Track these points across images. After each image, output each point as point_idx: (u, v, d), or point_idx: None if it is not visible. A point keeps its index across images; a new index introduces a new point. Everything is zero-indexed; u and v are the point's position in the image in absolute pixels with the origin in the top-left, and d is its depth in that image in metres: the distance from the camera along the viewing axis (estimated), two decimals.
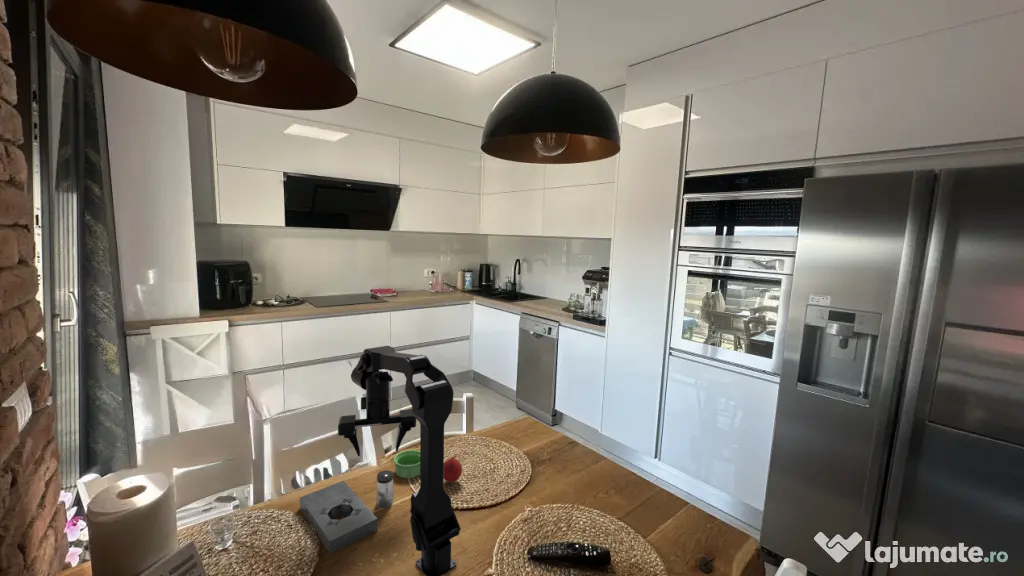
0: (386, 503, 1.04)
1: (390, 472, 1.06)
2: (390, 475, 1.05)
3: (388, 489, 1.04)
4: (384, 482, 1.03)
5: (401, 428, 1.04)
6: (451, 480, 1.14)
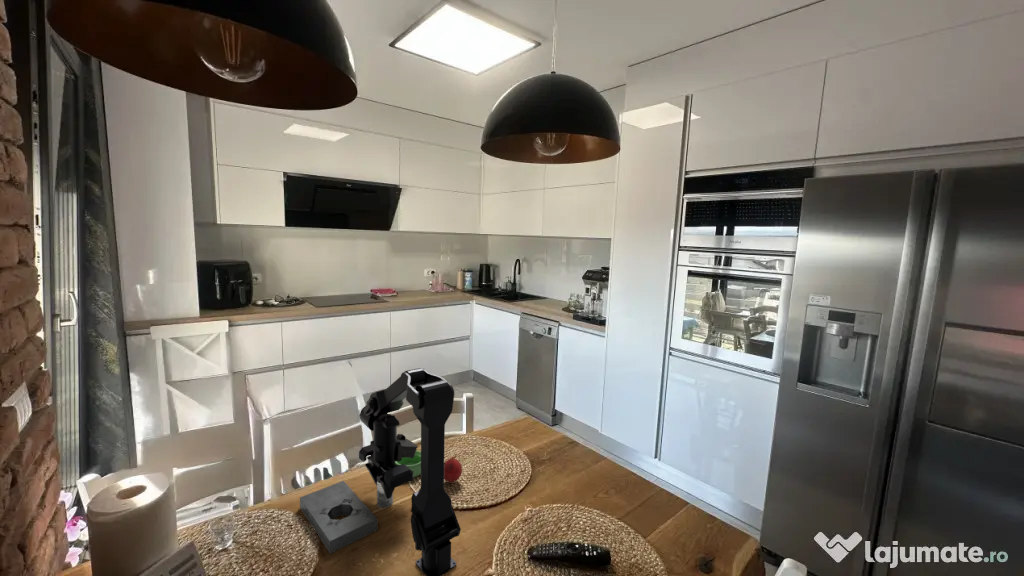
0: (386, 503, 1.04)
1: None
2: None
3: None
4: None
5: (383, 477, 1.01)
6: (451, 480, 1.14)
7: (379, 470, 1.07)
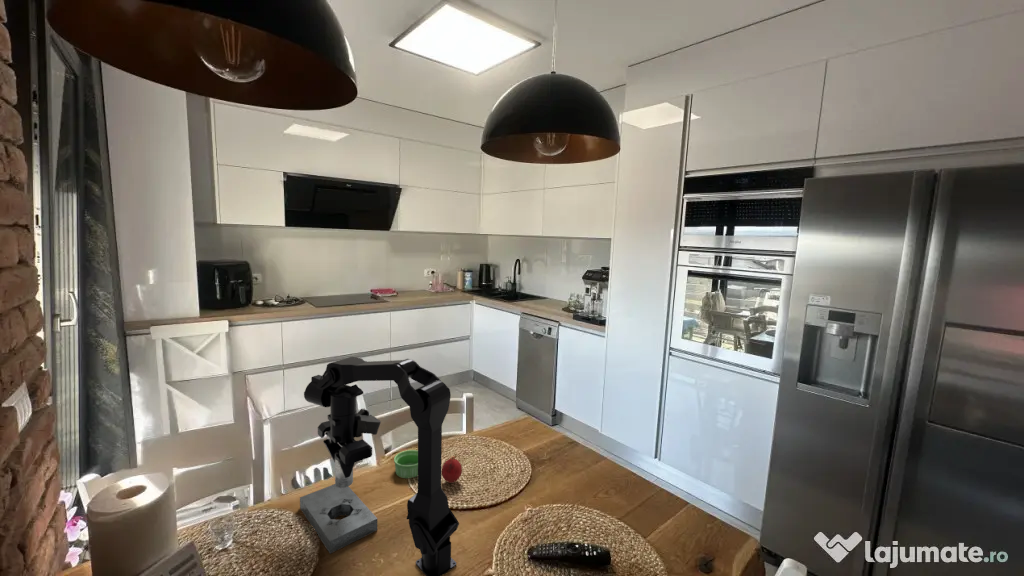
0: (344, 482, 0.96)
1: None
2: None
3: None
4: None
5: None
6: (451, 480, 1.14)
7: (338, 447, 0.98)
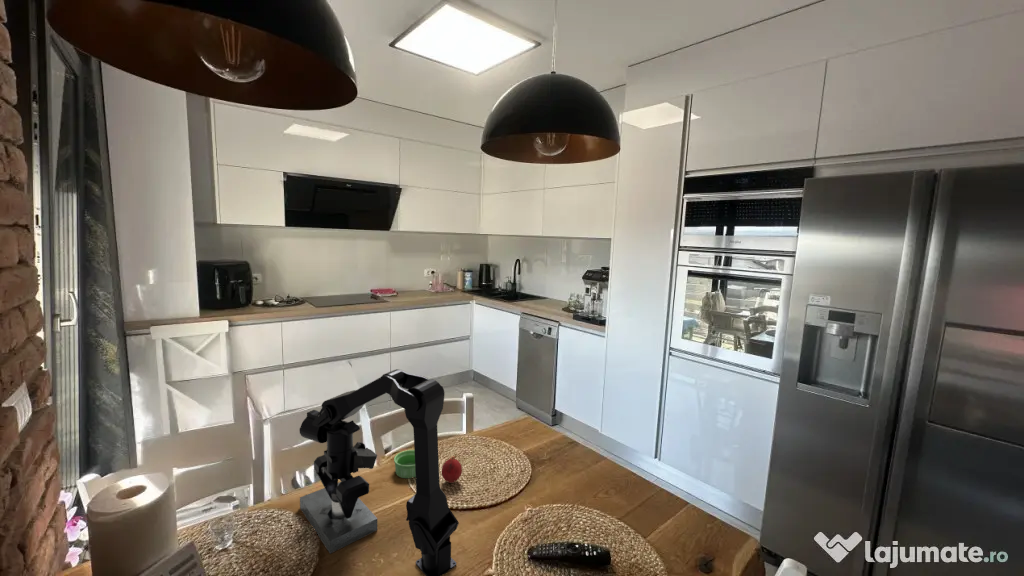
0: None
1: None
2: None
3: None
4: None
5: None
6: (451, 480, 1.14)
7: (331, 477, 1.00)
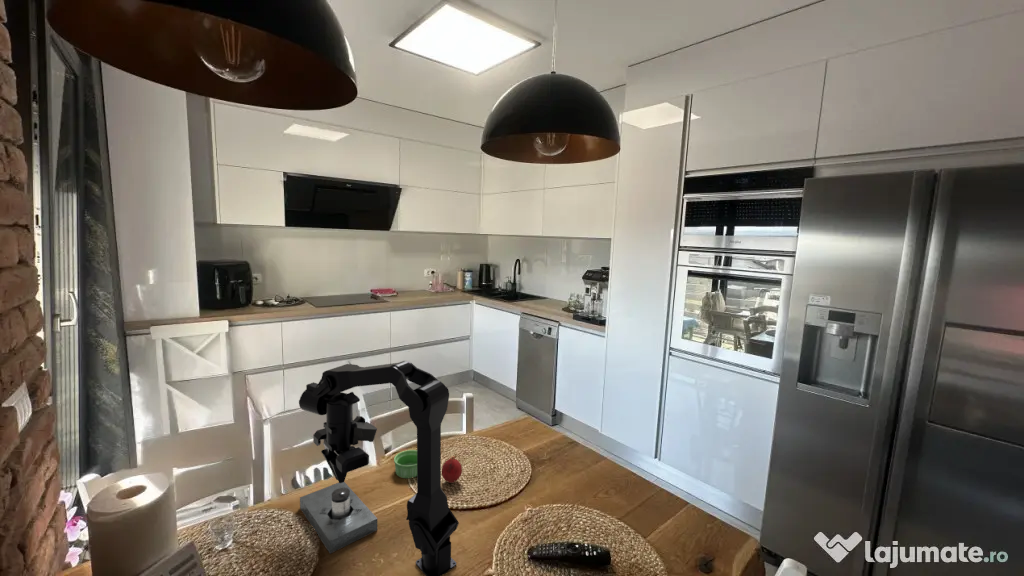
0: None
1: (347, 490, 0.98)
2: (346, 493, 0.97)
3: (344, 509, 0.96)
4: (339, 501, 0.95)
5: (334, 459, 0.93)
6: (451, 480, 1.14)
7: (337, 457, 0.97)
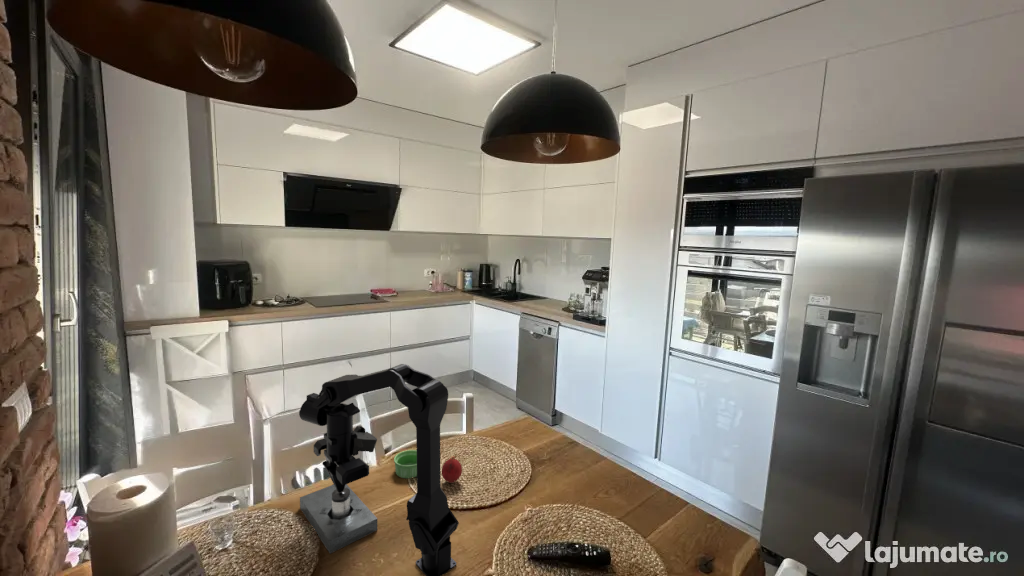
0: None
1: (347, 490, 0.98)
2: (346, 493, 0.97)
3: (344, 509, 0.96)
4: (339, 501, 0.95)
5: (333, 469, 0.94)
6: (451, 480, 1.14)
7: None
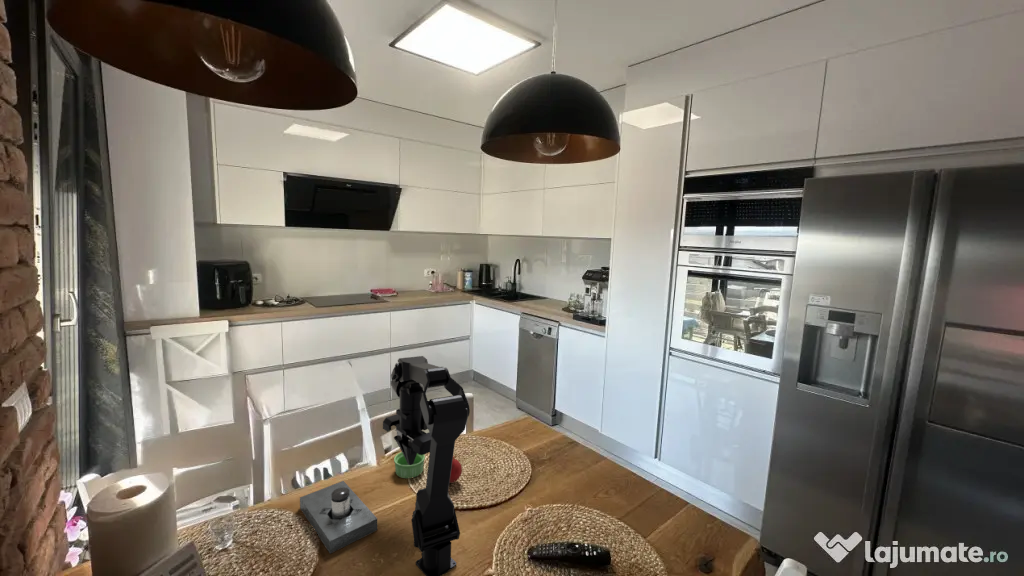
0: None
1: (346, 489, 0.98)
2: (346, 493, 0.97)
3: (344, 509, 0.96)
4: (339, 501, 0.95)
5: (406, 442, 1.00)
6: (451, 480, 1.14)
7: None
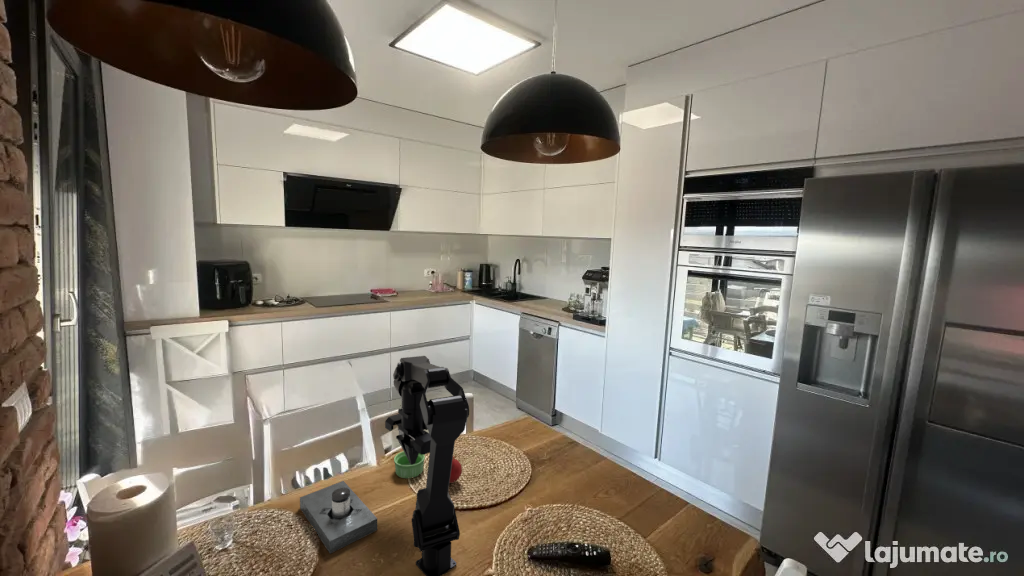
0: None
1: (347, 490, 0.98)
2: (346, 493, 0.97)
3: (344, 509, 0.96)
4: (339, 501, 0.95)
5: (408, 442, 1.01)
6: (451, 480, 1.14)
7: None
